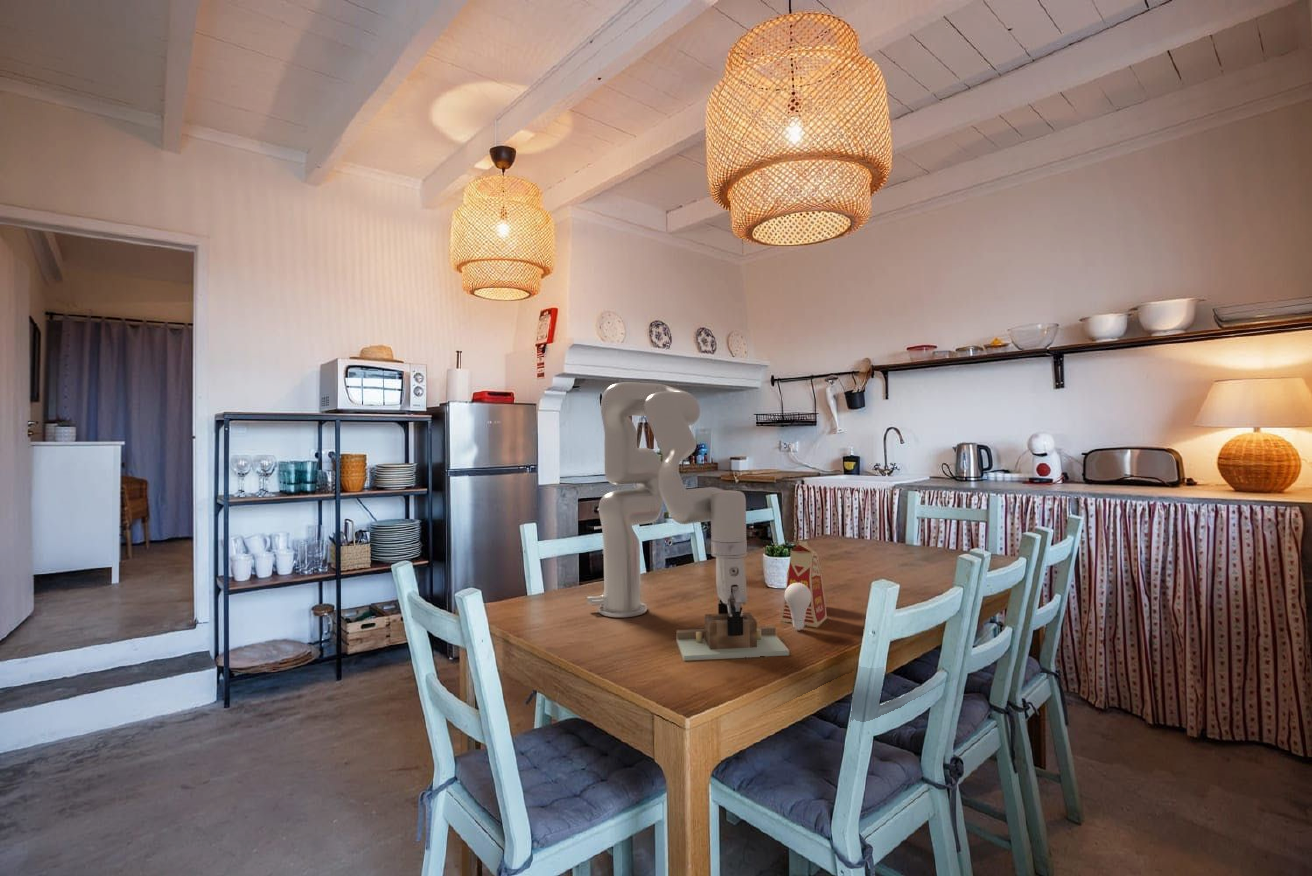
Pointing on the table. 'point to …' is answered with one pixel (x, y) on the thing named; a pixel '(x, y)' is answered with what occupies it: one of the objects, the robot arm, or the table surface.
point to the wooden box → (721, 640)
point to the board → (698, 649)
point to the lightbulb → (798, 603)
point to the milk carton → (809, 574)
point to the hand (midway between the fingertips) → (730, 628)
